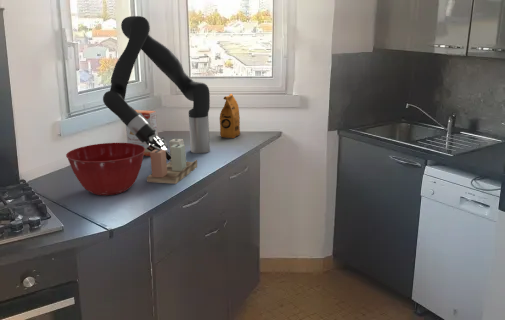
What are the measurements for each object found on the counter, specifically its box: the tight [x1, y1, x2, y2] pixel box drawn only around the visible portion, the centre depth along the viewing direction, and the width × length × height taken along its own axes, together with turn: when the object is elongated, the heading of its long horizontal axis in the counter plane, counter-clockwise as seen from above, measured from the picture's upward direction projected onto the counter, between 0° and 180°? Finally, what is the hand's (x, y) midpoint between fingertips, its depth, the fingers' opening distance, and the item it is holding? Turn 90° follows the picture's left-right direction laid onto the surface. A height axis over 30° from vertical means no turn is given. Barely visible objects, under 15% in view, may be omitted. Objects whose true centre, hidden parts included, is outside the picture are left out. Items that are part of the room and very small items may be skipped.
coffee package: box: [219, 93, 241, 139], centre depth 274 cm, size 10×12×22 cm
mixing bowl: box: [65, 142, 145, 196], centre depth 194 cm, size 28×28×15 cm
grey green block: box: [169, 144, 187, 171], centre depth 210 cm, size 4×4×10 cm
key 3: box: [149, 149, 168, 177], centre depth 203 cm, size 4×4×10 cm
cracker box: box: [125, 109, 159, 157], centre depth 242 cm, size 14×6×21 cm, turn 68°
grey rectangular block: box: [168, 138, 185, 164], centre depth 220 cm, size 4×4×10 cm
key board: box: [146, 159, 198, 185], centre depth 213 cm, size 23×12×3 cm, turn 165°
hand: (170, 158), depth 211 cm, fingers closed
